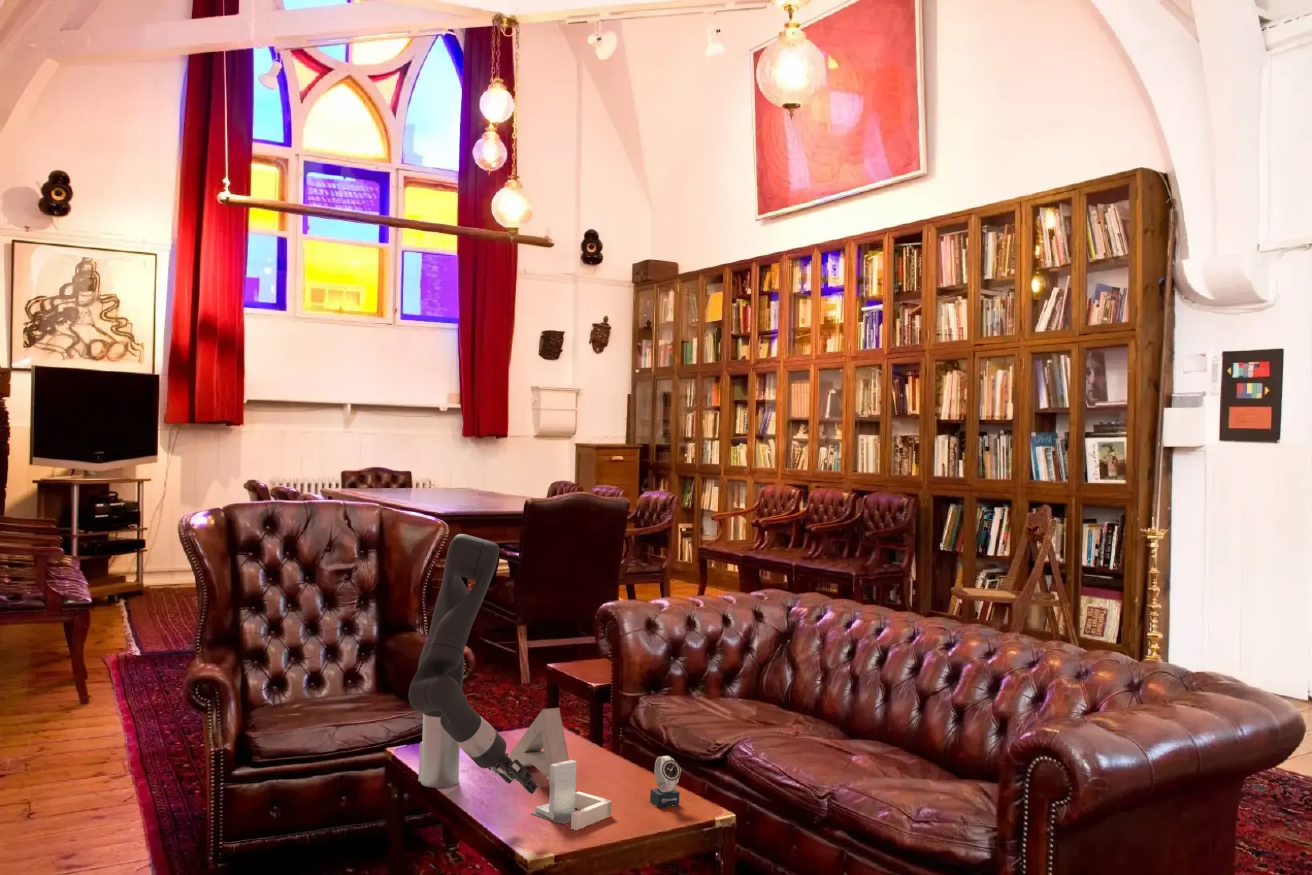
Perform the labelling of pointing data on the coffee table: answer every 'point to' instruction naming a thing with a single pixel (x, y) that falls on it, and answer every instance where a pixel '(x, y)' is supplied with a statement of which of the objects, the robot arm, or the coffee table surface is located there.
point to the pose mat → (562, 820)
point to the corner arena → (589, 810)
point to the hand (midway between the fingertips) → (522, 784)
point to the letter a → (542, 742)
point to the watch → (665, 782)
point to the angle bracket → (560, 791)
